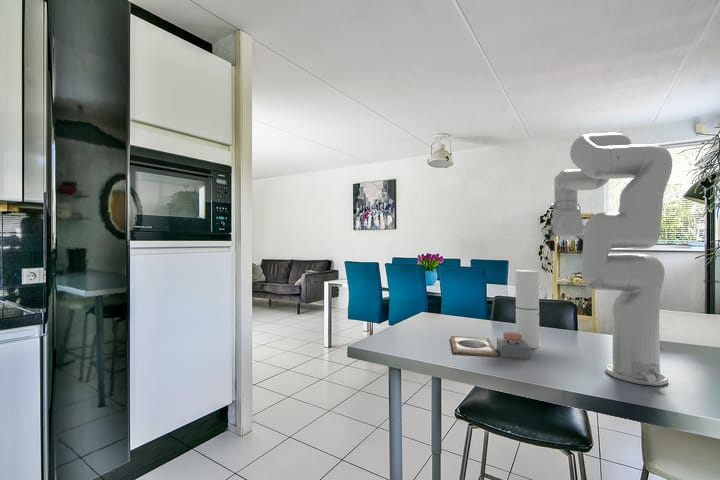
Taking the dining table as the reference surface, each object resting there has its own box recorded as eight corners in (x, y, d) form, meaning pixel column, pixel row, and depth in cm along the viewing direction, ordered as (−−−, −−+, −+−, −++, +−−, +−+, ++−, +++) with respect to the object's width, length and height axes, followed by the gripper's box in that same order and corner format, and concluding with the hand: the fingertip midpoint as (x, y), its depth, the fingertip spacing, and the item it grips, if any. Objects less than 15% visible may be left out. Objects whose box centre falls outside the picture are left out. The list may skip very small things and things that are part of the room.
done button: (523, 349, 105) (523, 337, 105) (505, 347, 106) (505, 336, 106) (519, 344, 110) (519, 332, 110) (502, 343, 111) (502, 331, 111)
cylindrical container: (511, 343, 119) (510, 270, 119) (527, 340, 122) (526, 269, 122) (527, 349, 112) (527, 272, 113) (544, 346, 115) (543, 271, 115)
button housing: (529, 358, 103) (529, 347, 103) (501, 357, 105) (501, 345, 105) (523, 350, 111) (523, 339, 111) (496, 348, 113) (496, 338, 113)
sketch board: (497, 356, 105) (497, 353, 105) (453, 353, 108) (453, 350, 108) (488, 340, 123) (488, 337, 123) (450, 338, 125) (450, 335, 125)
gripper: (544, 206, 131) (544, 251, 131) (595, 204, 127) (596, 251, 127) (538, 208, 138) (538, 250, 138) (587, 207, 134) (587, 251, 134)
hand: (566, 251), depth 132 cm, fingers open, 9 cm apart
